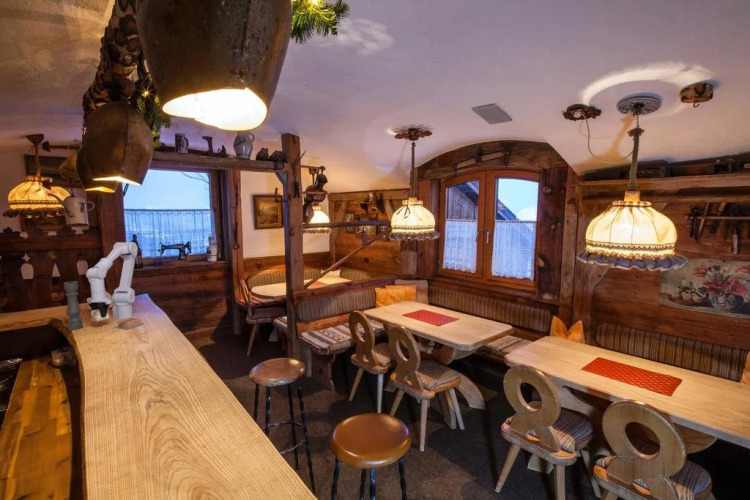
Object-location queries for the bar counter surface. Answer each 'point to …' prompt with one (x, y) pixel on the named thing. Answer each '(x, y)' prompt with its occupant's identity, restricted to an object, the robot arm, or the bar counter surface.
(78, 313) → the candle holder
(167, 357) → the bar counter surface
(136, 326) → the base plate
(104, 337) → the bar counter surface
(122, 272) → the robot arm
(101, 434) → the bar counter surface
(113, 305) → the white and red dome
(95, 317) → the ash brick
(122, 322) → the terracotta brick
